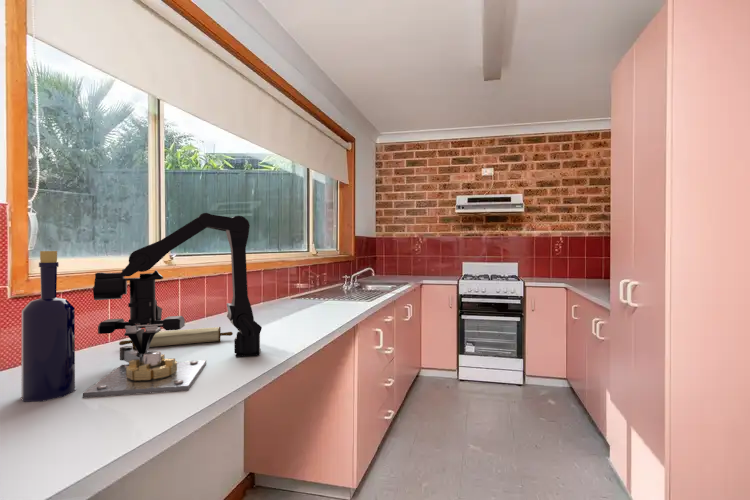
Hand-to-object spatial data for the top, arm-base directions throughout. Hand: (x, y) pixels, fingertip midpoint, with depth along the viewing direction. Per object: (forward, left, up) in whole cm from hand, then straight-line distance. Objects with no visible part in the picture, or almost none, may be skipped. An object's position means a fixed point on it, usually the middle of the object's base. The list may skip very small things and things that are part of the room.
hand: (143, 357), depth 102 cm
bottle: (+13, +17, -3) cm, 21 cm away
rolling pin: (-3, -23, -3) cm, 23 cm away
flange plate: (-5, +11, -2) cm, 12 cm away
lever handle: (-1, +6, -1) cm, 6 cm away
